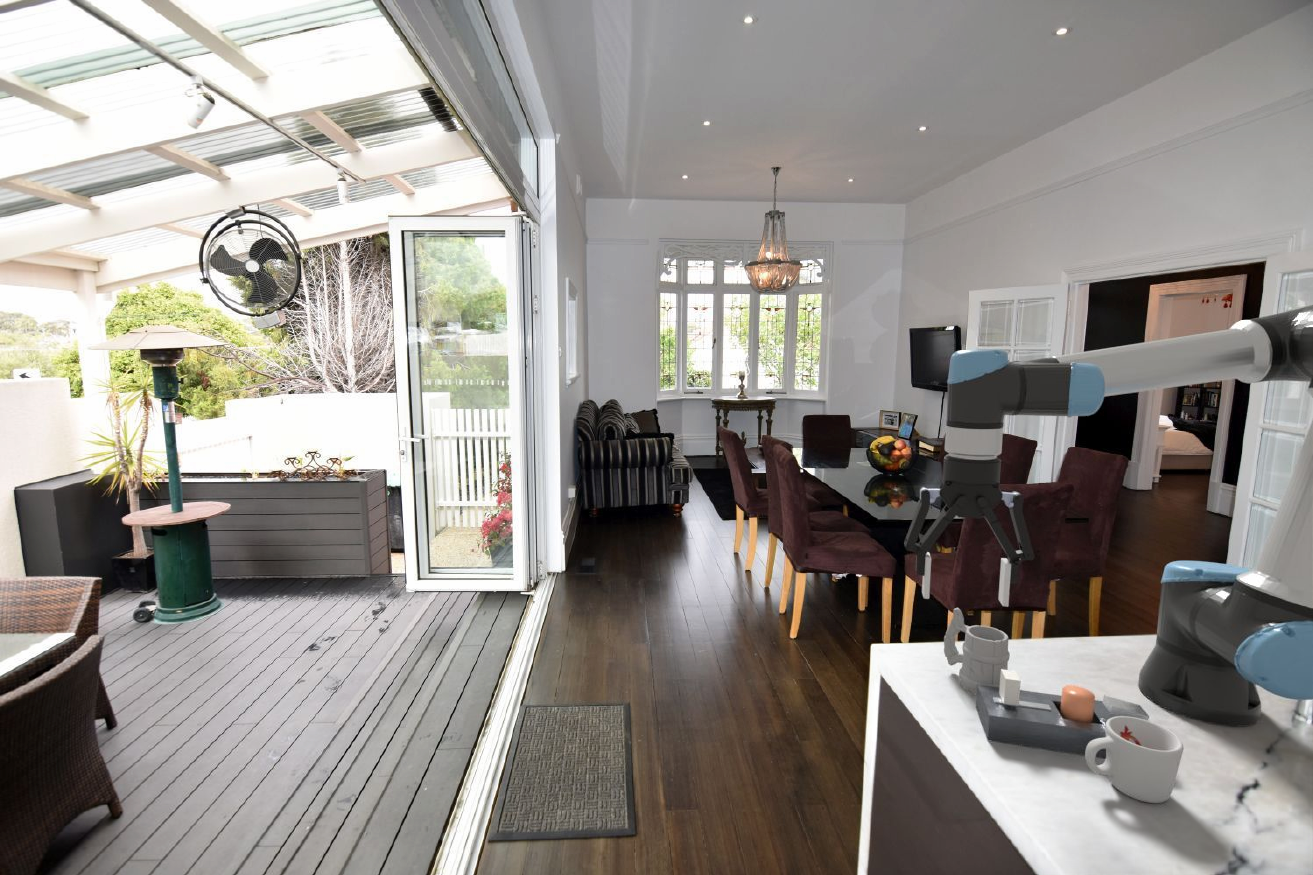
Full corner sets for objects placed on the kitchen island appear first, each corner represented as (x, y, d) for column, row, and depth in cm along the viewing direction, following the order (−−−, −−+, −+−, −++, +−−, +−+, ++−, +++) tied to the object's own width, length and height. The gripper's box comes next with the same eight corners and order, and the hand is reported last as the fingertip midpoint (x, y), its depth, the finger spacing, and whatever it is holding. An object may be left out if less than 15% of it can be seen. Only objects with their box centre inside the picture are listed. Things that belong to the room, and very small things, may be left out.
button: (1086, 717, 93) (1089, 687, 93) (1096, 732, 89) (1099, 701, 89) (1056, 713, 94) (1058, 683, 94) (1064, 728, 91) (1067, 697, 90)
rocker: (1137, 711, 91) (1139, 705, 91) (1147, 723, 88) (1149, 716, 88) (1102, 701, 92) (1104, 695, 92) (1110, 713, 89) (1112, 706, 89)
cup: (1104, 809, 78) (1110, 750, 77) (1065, 768, 85) (1070, 714, 84) (1194, 812, 77) (1200, 753, 76) (1146, 770, 85) (1152, 715, 84)
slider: (1013, 695, 95) (1015, 670, 95) (1018, 705, 93) (1020, 680, 92) (999, 693, 96) (1000, 669, 95) (1003, 703, 93) (1005, 678, 93)
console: (1128, 729, 94) (1131, 700, 93) (1156, 766, 86) (1160, 735, 85) (975, 707, 100) (977, 680, 100) (987, 740, 92) (989, 710, 91)
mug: (989, 704, 101) (994, 634, 99) (928, 671, 112) (932, 608, 110) (1019, 693, 104) (1024, 625, 103) (957, 662, 115) (961, 600, 113)
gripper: (1051, 454, 92) (1040, 597, 95) (888, 448, 98) (883, 583, 101) (1069, 462, 85) (1056, 617, 88) (892, 456, 91) (886, 600, 94)
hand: (963, 599), depth 94 cm, fingers open, 10 cm apart
